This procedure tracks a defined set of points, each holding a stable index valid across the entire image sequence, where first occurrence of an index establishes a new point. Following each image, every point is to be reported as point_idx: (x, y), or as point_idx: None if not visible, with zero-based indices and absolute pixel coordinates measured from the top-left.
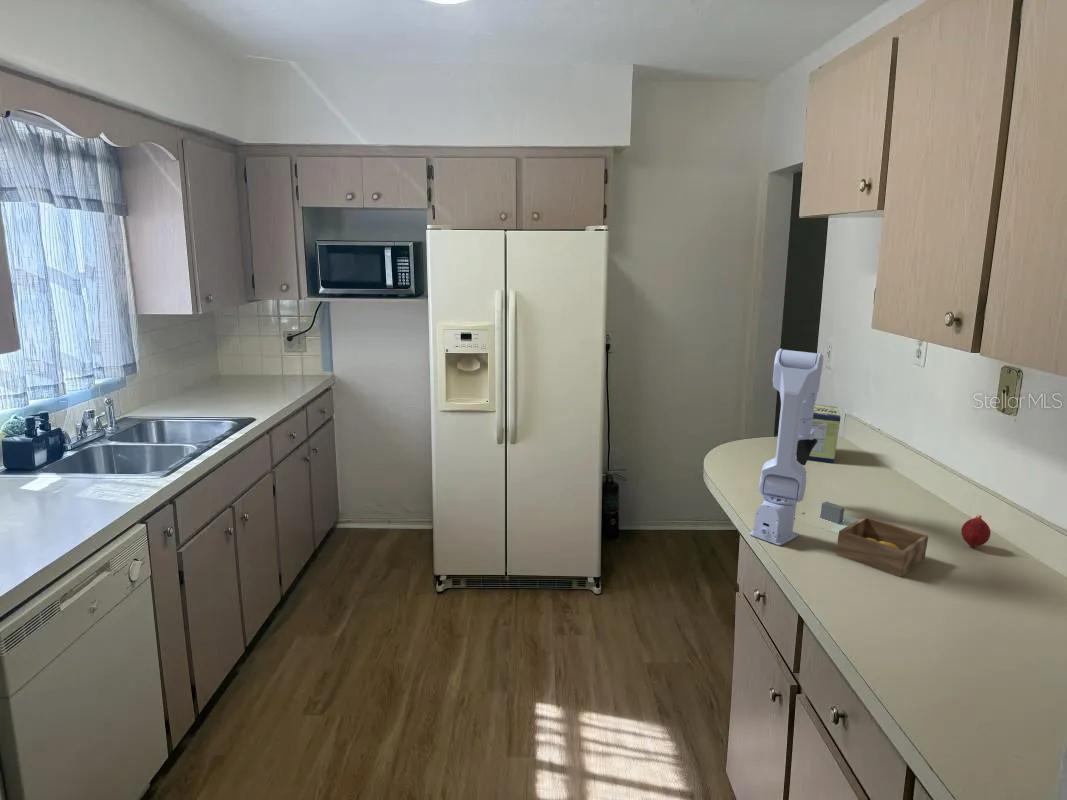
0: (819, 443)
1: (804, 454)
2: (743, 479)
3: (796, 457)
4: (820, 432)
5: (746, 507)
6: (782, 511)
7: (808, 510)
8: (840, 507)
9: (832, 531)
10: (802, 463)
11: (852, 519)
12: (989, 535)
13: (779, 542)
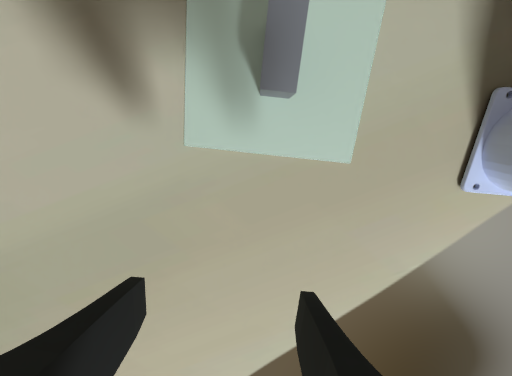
0: None
1: (98, 344)
2: (154, 361)
3: (127, 351)
4: None
5: (355, 281)
6: None
7: (242, 153)
8: (288, 8)
9: (382, 15)
10: (140, 293)
11: (209, 4)
12: None
13: None
